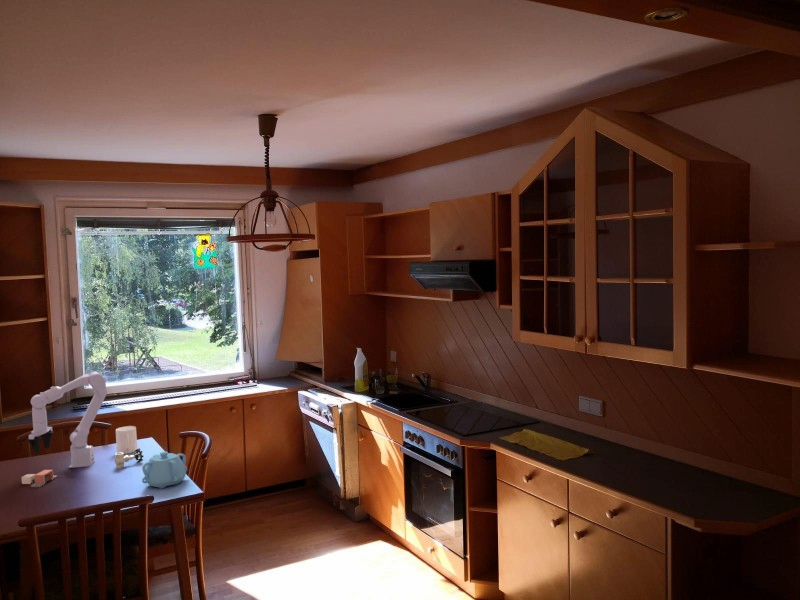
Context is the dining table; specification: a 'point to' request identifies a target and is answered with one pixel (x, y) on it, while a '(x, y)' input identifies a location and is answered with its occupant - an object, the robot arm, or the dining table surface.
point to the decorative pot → (164, 470)
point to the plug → (31, 479)
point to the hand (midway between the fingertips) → (42, 450)
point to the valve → (127, 458)
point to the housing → (42, 478)
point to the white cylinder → (126, 439)
